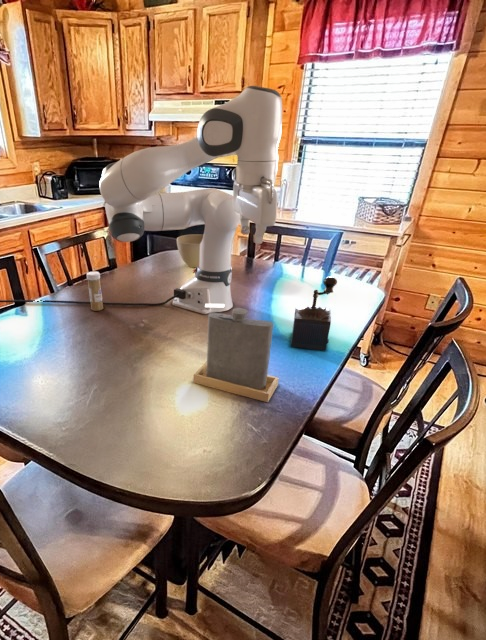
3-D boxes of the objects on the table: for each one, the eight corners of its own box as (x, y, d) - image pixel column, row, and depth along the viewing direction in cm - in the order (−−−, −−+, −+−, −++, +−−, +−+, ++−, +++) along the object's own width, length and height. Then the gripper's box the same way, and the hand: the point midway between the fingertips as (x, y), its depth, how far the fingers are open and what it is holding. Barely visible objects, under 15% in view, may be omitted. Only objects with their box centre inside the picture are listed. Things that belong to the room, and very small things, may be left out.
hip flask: (267, 384, 106) (276, 312, 96) (263, 392, 103) (271, 318, 92) (209, 372, 112) (211, 302, 101) (203, 379, 109) (205, 308, 98)
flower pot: (174, 270, 191) (173, 243, 185) (180, 259, 206) (179, 233, 200) (213, 271, 188) (213, 244, 182) (216, 260, 203) (217, 234, 197)
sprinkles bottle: (102, 311, 151) (97, 275, 143) (89, 311, 151) (84, 274, 144) (104, 306, 154) (100, 270, 147) (92, 306, 155) (88, 270, 148)
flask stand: (193, 382, 109) (193, 374, 108) (207, 367, 115) (207, 360, 114) (267, 402, 101) (268, 394, 99) (277, 385, 107) (278, 377, 106)
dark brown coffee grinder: (328, 351, 122) (340, 293, 113) (289, 347, 125) (298, 289, 115) (327, 329, 135) (338, 275, 125) (292, 326, 138) (300, 272, 128)
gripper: (288, 179, 85) (279, 248, 92) (254, 170, 102) (249, 228, 109) (258, 180, 84) (252, 250, 91) (229, 170, 101) (226, 230, 108)
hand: (251, 238), depth 100 cm, fingers open, 8 cm apart
